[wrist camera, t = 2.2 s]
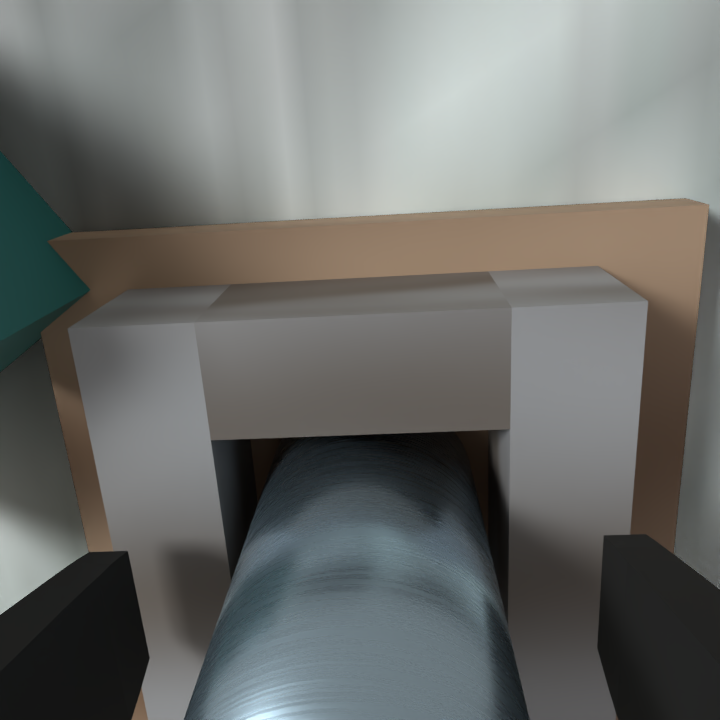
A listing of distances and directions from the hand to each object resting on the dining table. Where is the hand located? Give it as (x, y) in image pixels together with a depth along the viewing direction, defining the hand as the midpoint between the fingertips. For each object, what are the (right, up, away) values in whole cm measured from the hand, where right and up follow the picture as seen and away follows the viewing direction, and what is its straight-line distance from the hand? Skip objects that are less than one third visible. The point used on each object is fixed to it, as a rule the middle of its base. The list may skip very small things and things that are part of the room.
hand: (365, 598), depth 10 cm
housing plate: (+1, -4, +6) cm, 7 cm away
